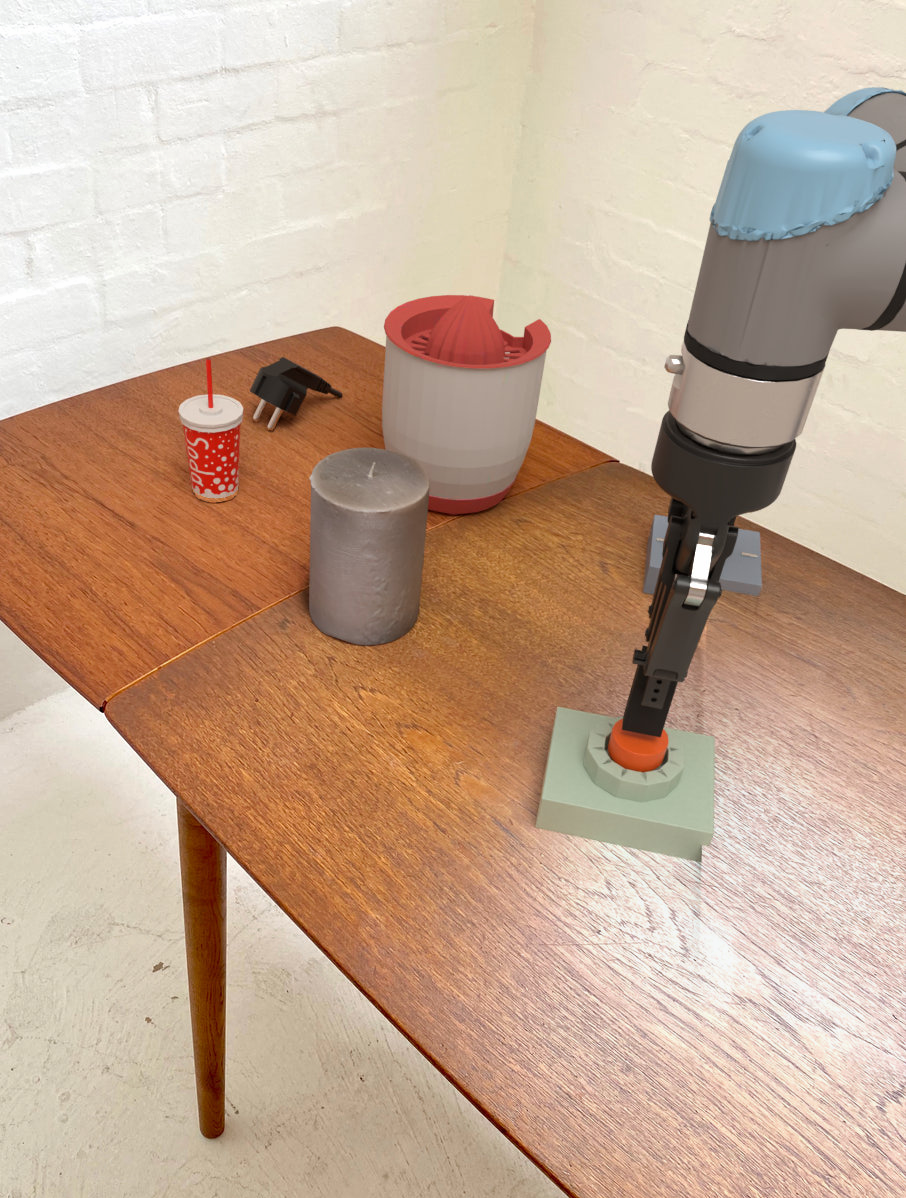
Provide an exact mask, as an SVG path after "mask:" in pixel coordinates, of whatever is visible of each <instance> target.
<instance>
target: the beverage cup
mask: <svg viewBox="0 0 906 1198" xmlns="http://www.w3.org/2000/svg"><path fill="white" fill-rule="evenodd" d="M212 371H213V370H212V358H210V357H207V358H205V373H206V387H207V388H206V389H207V394H199V395H195V396H192V397H190V398H189V397H188V398H187V399H185V400H184V401H183V402H182V403H180V404H179V408H178V415H179V420H180V422H181V424H182V429H183V436H184V444H185V449H186V457H187V462H188V470H189V478H190V485H191V490H192V489H193V490H194V492H195V493H197V494H198V495H201V496H203V497H207V498H215V499H216V498H217V499H218V498H223V497H224V498H225V497H227V496H230V495H233V494H234V493H235V492H236V491H237V490H238V486H239V487H240V457H241V456H240V452H241V423H242V422H243V418H244V406H243V405H242V404H241V402H240V401H238V400H237V399H235V398H233V397H231V396H227V395H223V394H215V393H213V374H212ZM238 491H239V490H238Z"/></svg>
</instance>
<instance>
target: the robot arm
mask: <svg viewBox="0 0 906 1198" xmlns="http://www.w3.org/2000/svg"><path fill="white" fill-rule="evenodd" d="M719 185H720V186H719V189H718V192H717V195H716V199H715V202H714V203H713V206H712V207H711V208H712V209H711V211H710V215H709V219H708V220H709V222H710V223H709V228H708V232H707V235H706V236H707V238H706V240H705V246H704V250H703V255H702V259H701V263H700V267H699V271H698V277H697V281H696V284H695V289H694V294H693V299H692V303H691V308H690V311H689V312H690V313H689V316H688V320H687V322H686V327H685V331H684V335H683V341H682V344H681V346H680V347H681V349H680V352H681V355H680V354H669V355H668V356H667V357H666V359H665V362H664V367H663V368H664V369H665V371H666V372H667V373H668V374H669V373H670V374H674V376H673V379H672V383H671V388H670V392H669V396H668V400H667V408H668V411H666V412H665V414H664V415H663V417H662V418H661V419H662V420H661V424H660V428H659V432H658V435H657V439H656V444H655V447H654V451H653V455H652V460H651V465H650V470H651V475H652V477H653V480H654V481H655V483H656V484H657V486H658V487H659V488H660V489H661V491H663V492H664V493H665V494H666V495H668V496H669V497H670V502H669V505H668V510H667V517H668V523H669V524H668V528H667V531H666V535H665V539H664V542H663V553H662V557H663V559H662V563H661V567H660V571H659V575H658V579H657V583H656V587H655V592H654V595H652V601H651V604H650V605H648V608H647V613H648V614H647V615H648V619H650V620H649V623H648V626H647V628H645V631H644V637H645V643H647V645H643V644H642V647H641V649H637V648H634V650H633V655H632V661H631V663H632V664H633V665H636V669H635V672H634V676H633V679H632V683H631V687H630V689H629V693H628V696H627V697H628V698H627V702H626V705H625V708H624V712H623V715H622V716H623V723H622V730H625V731H630V732H635V733H641V734H646V735H651V736H656V737H661V734H662V731H663V728H664V727H665V725H666V721H667V719H668V715H669V711H670V708H671V706H672V702H673V699H674V697H675V692H676V689H677V686H678V683H681V684H683V683H684V682H685V679H686V678H687V677H688V672H689V668H690V666H691V664H692V660H693V658H694V656H695V653H696V650H697V648H698V646H699V642H700V640H701V638H702V635H703V632H704V630H705V626H706V624H707V622H708V619H709V617H710V614H711V612H712V610H713V609H714V607H715V605H716V604H717V602H718V601H719V600H718V599H719V598H721V596H722V593H723V590H722V589H721V583H720V582H719V579H720V576H721V573H722V570H723V567H724V564H725V561H726V559H727V558H728V557H729V556H731V554H732V553H733V550H734V547H735V544H736V540H737V536H738V530H739V529H740V527H739V526H735V522H736V519H737V517H738V516H741V515H744V514H745V515H746V514H749V513H751V514H752V513H755V512H759V511H761V510H764V509H766V508H768V507H769V506H771V505H773V503H774V502H775V501H777V499H778V498H779V496H780V495H781V492H782V490H783V487H784V484H785V481H786V479H787V476H788V473H789V469H790V467H791V464H792V460H793V458H794V456H795V455H794V454H795V452H796V448H797V440H796V438H798V437H799V436H801V435H802V433H803V431H804V428H805V426H806V422H807V420H808V417H809V414H810V411H811V408H812V405H813V402H814V400H815V397H816V394H817V391H818V388H819V385H820V382H821V379H822V377H823V374H824V371H825V368H826V363H827V360H828V357H829V355H830V354H829V353H830V351H831V348H832V346H833V344H834V341H835V339H836V336H837V334H838V331H839V330H858V331H871V332H872V331H885V332H899V333H900V332H901V333H906V92H905V91H904V90H903V89H902V90H901V89H898V90H897V89H893V88H886V87H883V86H881V87H880V86H878V87H875V86H872V87H866V88H860V89H857V90H854V91H852V92H850V93H847V94H846V95H843V96H842V97H840V98H839V99H837V100H836V101H835V102H833V103H832V104H831V105H830V106H829V107H828V108H827V109H825V111H817V110H809V109H808V110H805V109H788V110H787V109H786V110H777V111H771V112H767V113H765V114H762V115H759V116H757V117H755V118H754V119H752V120H750V121H749V122H748V123H747V124H746V125H745V126H744V127H743V128H742V129H741V131H740V132H739V133H738V135H737V137H736V139H735V141H734V144H733V146H732V150H731V152H730V156H729V159H728V160H727V162H726V166H725V170H724V172H723V176H722V179H721V182H720V184H719Z"/></svg>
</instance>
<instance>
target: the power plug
mask: <svg viewBox="0 0 906 1198" xmlns="http://www.w3.org/2000/svg"><path fill="white" fill-rule="evenodd" d="M308 390H311V391H314V392H317V393H320V394H324V395H328V394H330V395H332V396H334V397H335V398H338V399H342V397H343V393H342V391H339V390H338V389H336V388H334V387H332V385H331V383H329V382H328V381H327V380H325V379H324V378H323V377H321V376H319V375H318V374H316V373H314V372H313V371H310V370H309V369H308V368H305V367H303V366H302V365H300V364H299V363H298V364H297V363H296V362H295V361H292V360H291V359H288V358H286V357H284V356H281V357H280V358H278V360H277V361H275V362H273V363H271V364H269V365H267V366H262V367H260V368H259V370H258V372H257V375H256V376H255V378H254V380H253V382H252V385H251V386H250V389H249V392H250V393H251V394H253V395H255V396H256V397H258V398H260V401H259V403H258V405H257V407H256V410H255V411H254V414H253V416H252V421H253V422H255V423H258V422H259V421H260V420H261V418H262V415H263V414H264V412H265V409H266V407H267V405H268V403H269V404H270V405H272V406H273V407H275V409H274V411H273V414H272V416H271V417H270V419H269V421H268V424H267V426H266V429H267V431H269V430H273V429H274V430H275V427H276V426H277V424H278V421H279V420H280V417H281V415H282V414H283V412H286V413H287V414H290V415H292V416H296V417H297V415H298V414H299V412H300V410H301V409H300V408H301V407H302V405H303V403H304V401H305V399H306V397H307V394H308V393H307V392H308ZM257 421H258V422H257ZM274 430H273V431H274Z"/></svg>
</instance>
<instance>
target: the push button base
mask: <svg viewBox="0 0 906 1198" xmlns="http://www.w3.org/2000/svg"><path fill="white" fill-rule="evenodd" d="M620 719H623V715H622V716H609V715H604V714H598V713H595V712H588V711H582V710H578V709H572V708H567V707H563V706H557V707H556V710H555V715H554V720H553V723H552V724H553V725H552V729H551V734H550V738H549V739H550V740H549V745H548V750H547V757H546V762H545V768H544V774H543V778H542V785H541V791H540V797H539V803H538V808H537V814H536V819H535V826H534V828H535V829H538V830H544V831H549V832H552V833H553V832H554V833H558V834H563V835H567V836H573V837H578V838H581V839H582V838H583V839H587V840H591V841H596V842H602V843H606V844H611V845H615V846H619V847H620V846H621V847H626V848H630V849H633V850H640V851H644V852H649V853H654V854H659V855H663V856H668V857H673V858H678V859H683V860H687V861H693V862H697V863H702V862H703V846H704V847H710V845H711V843H712V840H713V837H714V834H715V783H716V782H715V779H716V778H715V777H716V776H715V774H716V771H715V770H716V737H715V736H711V735H707V734H702V733H697V732H691V731H686V730H683V729H676V728H672V727H671V728H670V727H665V726H664V728H663V729H664V730H665V731H666V733H667V735H668V739H669V742H668V746H667V749H666V753H665V756H664V759H663V762H662V764H661V765H660V766H659V767H658V768H656V769H655V770H652V771H649V772H638V771H633V770H628V769H625V768H623V767H621V766H620V765H618V764H617V763H615V762H614V761H613V760H612V758H611V757H610V755H609V752H608V744H609V740H610V736H611V732H612V729H613V726H614V725H615V723H616V722H617V721H619V720H620Z"/></svg>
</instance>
